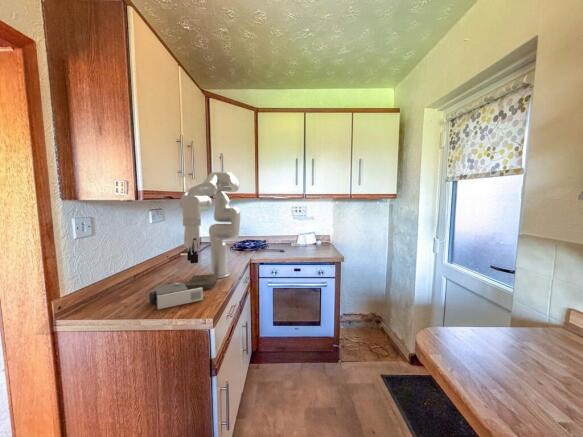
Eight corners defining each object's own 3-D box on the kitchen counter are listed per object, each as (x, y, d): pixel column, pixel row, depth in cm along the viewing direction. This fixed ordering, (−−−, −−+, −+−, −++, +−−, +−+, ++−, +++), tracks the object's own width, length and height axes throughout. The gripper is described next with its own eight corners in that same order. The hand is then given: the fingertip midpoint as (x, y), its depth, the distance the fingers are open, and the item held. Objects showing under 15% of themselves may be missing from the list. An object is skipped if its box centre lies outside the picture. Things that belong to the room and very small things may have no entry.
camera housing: (148, 300, 109) (148, 286, 108) (183, 294, 117) (182, 280, 116) (150, 310, 99) (150, 294, 99) (188, 302, 107) (187, 287, 107)
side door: (157, 308, 100) (157, 295, 100) (202, 299, 110) (202, 287, 110) (158, 309, 99) (157, 296, 99) (203, 300, 109) (202, 288, 109)
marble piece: (181, 292, 120) (180, 284, 120) (186, 282, 134) (186, 275, 134) (216, 289, 124) (215, 281, 124) (217, 280, 138) (217, 273, 138)
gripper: (179, 221, 114) (180, 258, 116) (186, 224, 100) (187, 267, 101) (196, 220, 119) (196, 257, 120) (205, 223, 104) (206, 264, 106)
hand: (192, 261), depth 111 cm, fingers open, 5 cm apart
